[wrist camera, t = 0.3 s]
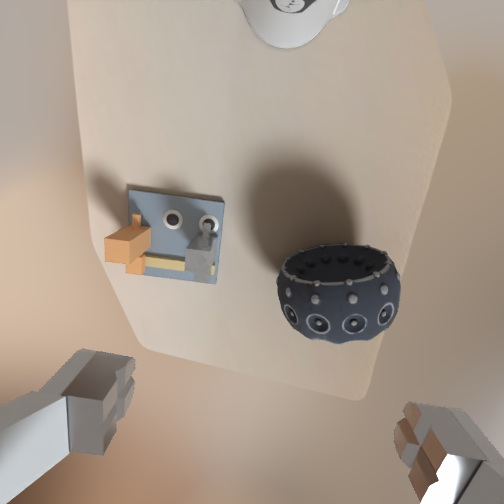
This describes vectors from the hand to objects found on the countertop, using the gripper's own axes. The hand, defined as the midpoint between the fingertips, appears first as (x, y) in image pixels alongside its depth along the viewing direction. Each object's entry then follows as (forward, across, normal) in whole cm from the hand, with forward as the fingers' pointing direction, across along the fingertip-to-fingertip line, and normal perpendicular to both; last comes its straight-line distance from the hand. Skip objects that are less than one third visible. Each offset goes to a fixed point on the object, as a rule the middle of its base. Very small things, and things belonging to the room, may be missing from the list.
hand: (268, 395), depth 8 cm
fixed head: (+47, +9, +12) cm, 49 cm away
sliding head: (+46, +22, +13) cm, 53 cm away
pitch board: (+48, +16, +12) cm, 52 cm away
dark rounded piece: (+48, -15, +13) cm, 52 cm away
